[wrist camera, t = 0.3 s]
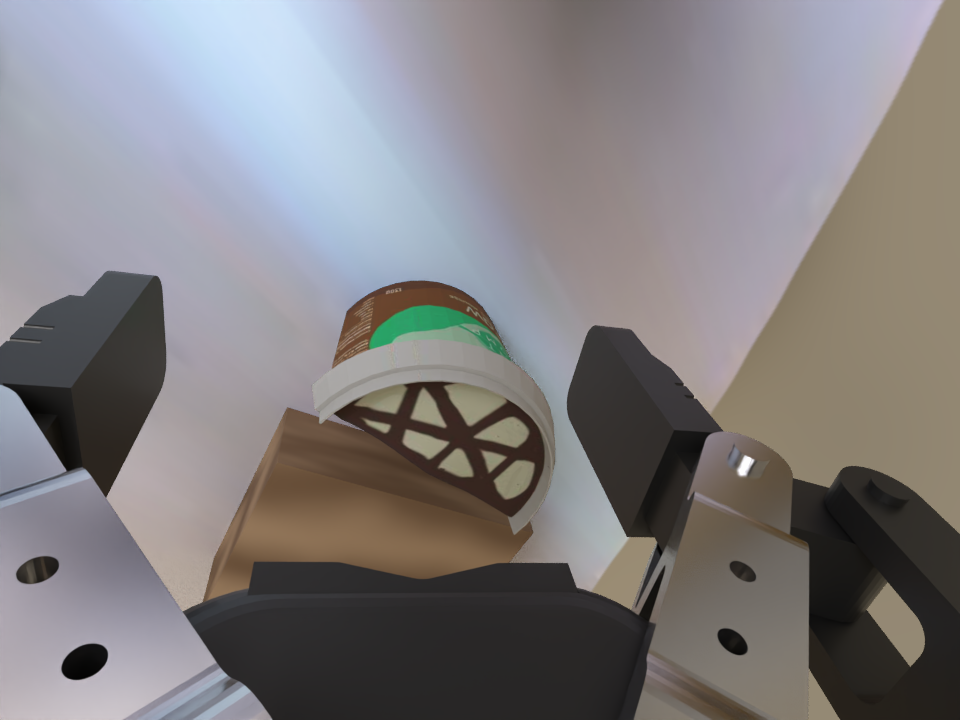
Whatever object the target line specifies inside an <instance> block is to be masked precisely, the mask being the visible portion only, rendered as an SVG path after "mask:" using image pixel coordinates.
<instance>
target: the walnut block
mask: <svg viewBox="0 0 960 720" xmlns="http://www.w3.org/2000/svg"><path fill="white" fill-rule="evenodd" d="M532 534H533V530H532V527H531V523H530V521H529V522H528V523H527V524H526V525H525V526H524V527H523V528H522V529H521V530H520V531H519V532H518V533H516V534H515V535H514V534H513V531H512V528H511V525H510V522H509V519H508V516H507V515H505V514H504V513H502V512H500V511H499V510H497V509H495V508H494V507H492V506H490V505H489V504H487V503H485V502H483V501H482V500H480V499H478V498H477V497H475V496H473V495H471V494H470V493H468V492H466V491H464V490H462V489H459V488H457V487H455V486H452V485H450V484H448V483H445V482H443V481H441V480H439V479H437V478H435V477H433V476H431V475H429V474H427V473H426V472H424V471H423V470H421V469H420V468H418V467H417V466H415V465H414V464H413V463H411V462H410V461H408V460H407V459H406V458H404V457H403V456H402V455H400V454H399V453H397V452H396V451H395V450H393V449H392V448H390V447H389V446H387V445H386V444H385V443H383V442H382V441H380V440H379V439H377V438H375V437H374V436H372V435H370V434H369V433H367V432H364V431H361V430H358V429H355V428H352V427H348V426H345V425H342V424H339V423H336V422H332V421H329V420H325V421H324V422H323V423H322V424H320V423H319V417H316V416H313V415H310V414H307V413H304V412H300V411H297V410H294V409H291V408H288V407H287V409H286V411H285V413H284V415H283V417H282V419H281V422H280V424H279V426H278V428H277V430H276V432H275V434H274V436H273V438H272V440H271V442H270V444H269V446H268V448H267V450H266V452H265V454H264V457H263V459H262V461H261V463H260V465H259V467H258V469H257V471H256V473H255V475H254V477H253V479H252V481H251V483H250V485H249V487H248V489H247V492H246V494H245V496H244V498H243V500H242V502H241V504H240V506H239V508H238V510H237V512H236V514H235V516H234V518H233V520H232V522H231V524H230V527H229V529H228V531H227V533H226V535H225V537H224V539H223V541H222V543H221V545H220V547H219V549H218V551H217V553H216V555H215V557H214V561H213V565H212V568H211V572H210V576H209V580H208V584H207V588H206V592H205V596H204V599H203V602H205V601H207V600H210V599H212V598H215V597H218V596H221V595H224V594H228V593H231V592H234V591H239V590H243V589H247V588H249V585H250V579H251V574H252V569H253V564H254V562H341V563H346V564H350V565H355V566H359V567H364V568H369V569H373V570H378V571H383V572H387V573H392V574H397V575H401V576H406V577H411V578H416V579H429V578H434V577H438V576H443V575H447V574H452V573H456V572H460V571H465V570H469V569H473V568H478V567H482V566H486V565H491V564H495V563H509V562H510V560H511V559H512V558H513V557H514V556H515V554H516V553H517V552H518V551H519V550H520V548H521V547H522V546H523V545H524V544H525V542H526V541H527V540H528V539H529V537H530V536H531V535H532Z"/></svg>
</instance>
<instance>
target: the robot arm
mask: <svg viewBox="0 0 960 720" xmlns="http://www.w3.org/2000/svg"><path fill="white" fill-rule="evenodd" d="M165 371H166V343H165V326H164V309H163V293H162V285H161V281H160V279H159V277H158V276H152V275H143V274H134V273H125V272H116V271H107V272H106V273H104V274H103V276H102V277H101V278H100V279H99V280H98V281H97V282H96V283H95V284H94V285H93V286H92V287H91V289H90V290H89V291H88V292H87V293H86V294H85V295H84V296H73V295H69V296H66V297H64V298H62V299H59V300H57V301H55V302H53V303H50V304H48V305H46V306H43V307H41V308H40V309H39V310H38V311H37V312H36V313H35V314H34V315H33V316H32V317H31V318H30V319H29V320H28V321H26V322H25V323H24V327H20V328H19V329H18V330H17V331H16V332H15V333H14V334H13V335H12V336H11V337H10V341H6V342H5V343H4V344H3V345H2V346H1V347H0V720H808V675H809V671H808V670H809V669H810V671H811V673H812V674H813V676H814V678H815V679H816V681H817V682H818V684H819V686H820V687H821V689H822V690H823V692H824V694H825V696H826V697H827V699H828V700H829V702H830V704H831V705H832V707H833V709H834V710H835V712H836V714H837V715H838V717H839V718H840V720H960V534H959V533H958V532H957V531H956V530H955V529H954V528H953V527H952V526H951V525H950V524H948V523H947V522H946V521H945V520H944V519H943V518H942V517H941V516H940V515H939V514H938V513H937V512H936V511H935V510H934V509H933V508H932V507H931V506H930V505H928V504H927V503H926V502H925V501H924V500H923V499H922V498H921V497H920V496H919V495H918V494H917V493H915V492H914V491H913V490H911V489H910V488H909V487H907V486H905V485H904V484H902V483H901V482H899V481H897V480H895V479H894V478H892V477H889V476H888V475H885V474H883V473H880V472H878V471H875V470H872V469H868V468H864V467H859V466H849V467H845V468H843V469H842V470H841V471H840V473H839V474H838V476H837V477H836V479H835V480H834V482H833V484H832V485H831V487H830V488H827V487H823V486H820V485H816V484H813V483H808V482H805V481H802V480H798V479H794V478H793V474H792V471H791V468H790V467H789V465H788V464H787V462H786V461H785V460H784V459H783V458H782V457H781V456H780V455H779V454H778V453H776V452H775V451H774V450H772V449H771V448H769V447H767V446H766V445H764V444H763V443H761V442H759V441H757V440H755V439H752V438H750V437H747V436H744V435H741V434H737V433H732V432H724V431H723V430H722V429H721V428H720V427H719V425H718V424H717V423H716V422H715V421H714V420H713V418H712V417H711V416H710V415H709V413H708V412H707V411H706V410H705V409H704V407H703V406H702V405H701V404H700V403H699V401H698V400H697V399H694V395H693V394H692V393H691V392H690V390H689V389H688V388H687V387H686V386H683V384H684V383H683V382H682V381H681V380H680V378H679V377H678V376H677V375H676V374H675V372H674V371H673V370H672V369H671V368H670V367H668V366H667V365H666V364H664V363H663V362H661V361H660V360H658V359H657V358H656V357H654V356H653V355H651V353H650V352H649V351H648V350H647V349H646V347H645V346H644V345H643V344H642V342H641V341H640V340H639V339H638V337H637V336H636V335H635V334H634V332H633V331H632V330H630V329H623V328H614V327H605V326H593V327H592V328H591V329H590V330H589V332H588V334H587V336H586V338H585V342H584V345H583V348H582V351H581V354H580V357H579V360H578V363H577V366H576V369H575V372H574V376H573V379H572V382H571V385H570V388H569V392H568V397H567V412H568V417H569V420H570V422H571V424H572V426H573V428H574V430H575V432H576V434H577V436H578V438H579V440H580V442H581V444H582V446H583V448H584V450H585V452H586V454H587V456H588V458H589V460H590V463H591V465H592V467H593V469H594V471H595V473H596V475H597V477H598V479H599V481H600V483H601V485H602V487H603V489H604V491H605V493H606V495H607V497H608V499H609V501H610V503H611V505H612V507H613V509H614V511H615V513H616V515H617V517H618V520H619V522H620V524H621V526H622V528H623V530H624V532H625V534H626V536H627V537H655V539H656V541H657V543H656V546H655V548H654V550H653V552H652V554H651V556H650V558H649V561H648V564H647V567H646V569H645V572H644V575H643V578H642V581H641V584H640V586H639V589H638V592H637V595H636V598H635V600H634V603H633V606H632V609H631V610H630V609H628V608H626V607H624V606H623V605H621V604H619V603H617V602H615V601H613V600H611V599H608V598H606V597H603V596H601V595H598V594H596V593H593V592H590V591H587V590H584V589H579V588H576V585H575V582H574V579H573V577H572V574H571V571H570V568H569V566H568V563H495V564H491V565H486V566H482V567H478V568H473V569H469V570H465V571H460V572H456V573H452V574H447V575H443V576H438V577H434V578H429V579H416V578H411V577H406V576H401V575H397V574H392V573H387V572H383V571H378V570H373V569H369V568H364V567H359V566H355V565H350V564H346V563H341V562H254V564H253V569H252V574H251V579H250V585H249V588H247V589H243V590H239V591H234V592H231V593H228V594H224V595H221V596H218V597H215V598H212V599H210V600H207V601H205V602H202V603H200V604H198V605H195V606H193V607H191V608H189V609H187V610H185V611H183V612H182V610H181V609H180V607H179V606H178V604H177V603H176V601H175V600H174V598H173V597H172V595H171V594H170V592H169V591H168V589H167V588H166V586H165V585H164V583H163V582H162V581H161V579H160V578H159V576H158V575H157V573H156V572H155V570H154V569H153V567H152V566H151V564H150V563H149V561H148V560H147V558H146V557H145V555H144V554H143V552H142V551H141V549H140V548H139V546H138V545H137V543H136V542H135V540H134V539H133V537H132V536H131V534H130V533H129V532H128V530H127V529H126V527H125V526H124V524H123V523H122V521H121V520H120V518H119V517H118V515H117V514H116V512H115V511H114V509H113V508H112V506H111V505H110V503H109V502H108V500H107V499H106V497H107V495H108V493H109V491H110V489H111V487H112V485H113V483H114V481H115V479H116V477H117V475H118V473H119V471H120V469H121V467H122V465H123V463H124V461H125V460H126V458H127V456H128V454H129V452H130V450H131V448H132V446H133V444H134V442H135V440H136V438H137V436H138V434H139V432H140V430H141V428H142V426H143V424H144V422H145V420H146V418H147V416H148V414H149V412H150V410H151V408H152V407H153V405H154V403H155V401H156V399H157V397H158V395H159V393H160V391H161V388H162V385H163V382H164V377H165ZM887 582H888V583H889V584H890V585H891V586H892V587H893V589H894V590H895V591H896V592H897V593H898V594H899V596H900V597H901V598H902V599H903V600H904V602H905V603H906V604H907V605H908V607H909V608H910V609H911V610H912V611H913V613H914V614H915V615H916V616H917V617H918V619H919V621H920V623H921V625H922V627H923V631H924V635H925V647H924V651H923V653H922V654H921V656H920V657H919V658H918V659H917V660H916V662H915V663H914V664H913V665H912V666H911V667H910V666H909V665H908V664H907V662H906V661H905V660H904V658H903V657H902V656H901V654H900V653H899V652H898V650H897V649H896V648H895V647H894V645H893V644H892V643H891V642H890V640H889V639H888V638H887V636H886V635H885V633H884V632H883V631H882V630H881V628H880V627H879V626H878V624H877V623H876V622H875V620H874V619H873V618H872V617H871V615H870V614H869V613H868V611H867V610H866V609H867V608H868V607H869V606H870V604H871V603H872V601H873V600H874V599H875V597H876V596H877V595H878V594H879V593H880V591H881V590H882V589H883V587H884V586H885V585H886V584H887Z"/></svg>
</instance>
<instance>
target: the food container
mask: <svg viewBox="0 0 960 720" xmlns="http://www.w3.org/2000/svg"><path fill="white" fill-rule="evenodd" d="M312 392H313V400H314V408H315V410H316V411H318V412H320V413H319V423H320V424H322V423H323V422H324V421H325V420H326V419H328V418H329V417H330V416H331V415H332V414H335V415H336V416H338V417H339V418H340V419H342V420H344V421H347V422H349V423H351V424H353V425H355V426H357V427H359V428H361V429H362V430H364V431H365V432H367V433H369V434H370V435H372V436H374V437H375V438H377V439H379V440H380V441H382V442H383V443H385V444H386V445H387V446H389V447H390V448H392V449H393V450H395V451H396V452H397V453H399V454H400V455H402V456H403V457H404V458H406V459H407V460H408V461H410V462H411V463H413V464H414V465H415V466H417V467H418V468H420V469H421V470H423V471H424V472H426V473H427V474H429V475H431V476H433V477H435V478H437V479H439V480H441V481H443V482H445V483H448V484H450V485H452V486H455V487H457V488H459V489H462V490H464V491H466V492H468V493H470V494H471V495H473V496H475V497H477V498H478V499H480V500H482V501H483V502H485V503H487V504H489V505H490V506H492V507H494V508H495V509H497V510H499V511H500V512H502V513H504V514H505V515H507V516H508V519H509V522H510V525H511V528H512V531H513V534H514V535H515V534H516V533H518V532H519V531H520V530H521V529H522V528H523V527H524V526H525V525H526V524H527V523H528V522H529V521H530V520H531V519H532V517H533V516H534V515H535V514H536V513H537V511H538V509H539V508H540V506H541V505H542V503H543V501H544V500H545V497H546V495H547V492H548V490H549V487H550V483H551V478H552V474H553V469H554V464H555V438H554V425H553V420H552V415H551V411H550V407H549V405H548V403H547V401H546V399H545V396H544V394H543V393H542V391H541V390H540V388H539V387H538V386H537V384H536V383H535V382H534V380H533V379H532V378H531V377H530V376H529V375H528V374H527V373H525V372H524V371H523V370H522V369H521V368H520V367H519V366H517V365H516V364H514V363H513V362H512V361H511V359H510V357H509V355H508V353H507V351H506V349H505V347H504V345H503V343H502V341H501V339H500V337H499V335H498V333H497V331H496V329H495V327H494V325H493V323H492V321H491V319H490V318H489V316H488V315H487V313H486V312H485V310H484V309H483V307H482V306H481V305H480V304H479V303H478V302H477V301H476V300H475V299H474V298H472V297H471V296H469V295H468V294H466V293H465V292H463V291H461V290H459V289H457V288H454V287H452V286H449V285H446V284H442V283H439V282H431V281H407V282H401V283H395V284H392V285H389V286H386V287H383V288H380V289H378V290H376V291H374V292H372V293H370V294H368V295H367V296H365V297H364V298H362V299H361V300H359V301H358V302H357V303H356V304H354V305H353V306H352V307H351V308H350V309H349V310H348V311H347V313H346V317H345V320H344V324H343V328H342V332H341V335H340V339H339V343H338V347H337V350H336V354H335V358H334V361H333V365H332V369H331V370H330V371H328V372H326V373H325V374H324V375H323V376H322V377H321V378H320V379H318V380H317V381H316V382H315V383H314V384H313V385H312Z"/></svg>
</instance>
